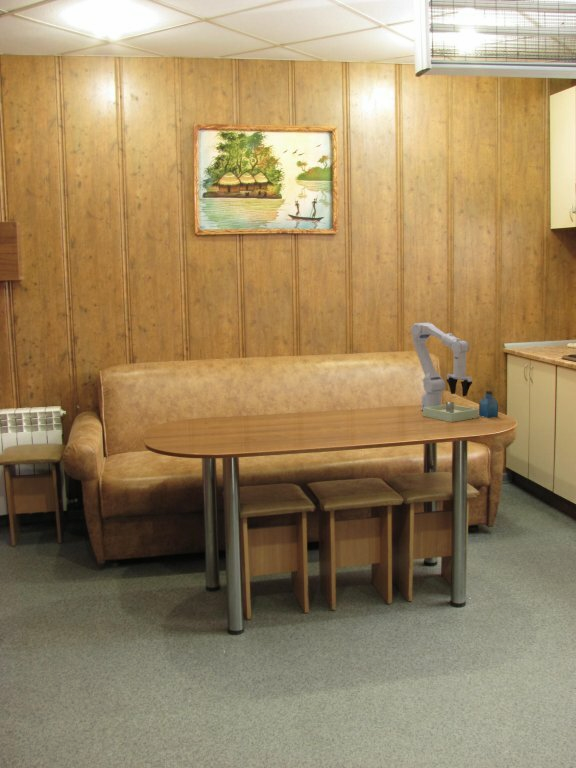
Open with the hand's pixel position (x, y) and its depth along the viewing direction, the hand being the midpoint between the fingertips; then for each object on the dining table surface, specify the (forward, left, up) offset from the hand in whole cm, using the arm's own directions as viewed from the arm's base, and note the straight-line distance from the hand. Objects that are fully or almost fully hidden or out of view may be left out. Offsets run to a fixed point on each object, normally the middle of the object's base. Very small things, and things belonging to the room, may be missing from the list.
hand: (458, 394), depth 382 cm
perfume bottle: (+10, +10, -10) cm, 17 cm away
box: (+1, -6, -10) cm, 11 cm away
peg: (+1, -6, -10) cm, 12 cm away
